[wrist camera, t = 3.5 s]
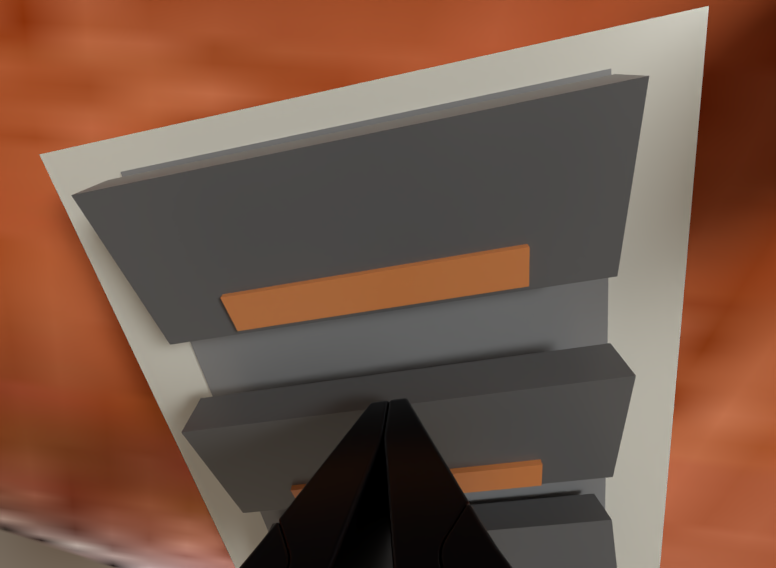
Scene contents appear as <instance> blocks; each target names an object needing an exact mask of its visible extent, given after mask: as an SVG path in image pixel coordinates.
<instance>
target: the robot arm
mask: <svg viewBox="0 0 776 568" xmlns="http://www.w3.org/2000/svg"><path fill="white" fill-rule="evenodd" d="M239 568H512V566H511V565H510V564H509V562H508V561H507V560H506V558H505V557H504V555H503V554H502V553H501V551H500V550H499V549H498V547H497V546H496V544H495V542H494V541H493V539H492V538H491V536H490V535H489V533H488V532H487V530H486V529H485V527H484V525H483V524H482V522H481V521H480V519H479V517H478V516H477V514H476V512H475V511H474V509H473V507H472V506H471V505H470V504H469V501H468V499H467V498H466V496H465V494H464V493H463V491H462V489H461V488H460V486H459V484H458V483H457V481H456V479H455V478H454V476H453V474H452V473H451V471H450V469H449V468H448V466H447V464H446V463H445V461H444V459H443V458H442V456H441V454H440V452H439V451H438V449H437V447H436V446H435V444H434V442H433V441H432V439H431V437H430V436H429V434H428V432H427V431H426V429H425V427H424V426H423V424H422V422H421V421H420V419H419V417H418V416H417V414H416V412H415V411H414V409H413V407H412V406H411V404H410V402H409V401H408V399H407V398H401V399H393V400H391V401H390V402H388V401H387V400H385V401H377V402H372V403H370V404H369V406H368V407H367V408H366V409H365V411H364V412H363V413H362V414H361V416H360V417H359V418H358V419H357V421H356V422H355V423H354V425H353V426H352V427H351V428H350V430H349V431H348V432H347V433H346V435H345V436H344V437H343V438H342V440H341V441H340V442H339V444H338V445H337V446H336V447H335V449H334V450H333V451H332V452H331V454H330V455H329V456H328V457H327V459H326V460H325V461H324V463H323V464H322V465H321V466H320V468H319V469H318V470H317V471H316V473H315V474H314V475H313V476H312V478H311V479H310V480H309V482H308V483H307V484H306V485H305V487H304V488H303V489H302V490H301V492H300V493H299V494H298V495H297V497H296V498H295V499H294V500H293V502H292V503H291V504H290V506H289V507H288V508H287V509H286V511H285V512H284V513H283V514H282V516H281V517H280V518H279V523H278V522H277V523H275V524H274V526H273V527H272V528H271V529H270V531H269V532H268V533H267V534H266V536H265V537H264V538H263V539H262V541H261V542H260V543H259V544H258V546H257V547H256V548H255V549H254V550H253V552H252V553H251V554H250V555H249V556H248V558H247V559H246V560H245V561H244V563H243V564H242V565H241V566H240V567H239Z"/></svg>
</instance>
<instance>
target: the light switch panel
mask: <svg viewBox="0 0 776 568" xmlns="http://www.w3.org/2000/svg"><path fill="white" fill-rule="evenodd" d="M708 11H709V6H706V7H702V8H697V9H693V10H688V11H684V12H679V13H675V14H670V15H666V16H661V17H657V18H652V19H648V20H643V21H639V22H634V23H630V24H625V25H621V26H616V27H612V28H607V29H603V30H598V31H594V32H589V33H585V34H580V35H576V36H571V37H567V38H562V39H558V40H553V41H549V42H544V43H540V44H535V45H531V46H526V47H522V48H517V49H513V50H508V51H504V52H499V53H495V54H490V55H486V56H481V57H477V58H472V59H468V60H463V61H459V62H454V63H450V64H445V65H441V66H436V67H432V68H427V69H423V70H418V71H414V72H409V73H405V74H400V75H396V76H391V77H387V78H382V79H378V80H373V81H369V82H364V83H359V84H355V85H350V86H346V87H341V88H337V89H332V90H328V91H323V92H319V93H314V94H310V95H305V96H301V97H296V98H292V99H287V100H283V101H278V102H274V103H269V104H265V105H260V106H256V107H251V108H247V109H242V110H238V111H233V112H229V113H224V114H220V115H215V116H211V117H206V118H202V119H197V120H193V121H188V122H184V123H179V124H175V125H170V126H166V127H161V128H157V129H152V130H148V131H143V132H139V133H134V134H130V135H125V136H121V137H116V138H112V139H107V140H103V141H98V142H94V143H89V144H85V145H80V146H76V147H71V148H67V149H62V150H58V151H53V152H49V153H44V154H40V157H41V159H42V161H43V163H44V165H45V167H46V169H47V171H48V173H49V176H50V178H51V180H52V182H53V184H54V186H55V188H56V190H57V192H58V195H59V197H60V199H61V201H62V203H63V205H64V207H65V209H66V211H67V213H68V216H69V218H70V220H71V222H72V224H73V226H74V228H75V230H76V232H77V235H78V237H79V239H80V241H81V243H82V245H83V247H84V249H85V251H86V254H87V256H88V258H89V260H90V262H91V264H92V266H93V268H94V270H95V272H96V275H97V277H98V279H99V281H100V283H101V285H102V287H103V289H104V291H105V294H106V296H107V298H108V300H109V302H110V304H111V306H112V308H113V310H114V313H115V315H116V317H117V319H118V321H119V323H120V325H121V327H122V329H123V331H124V334H125V336H126V338H127V340H128V342H129V344H130V346H131V348H132V350H133V353H134V355H135V357H136V359H137V361H138V363H139V365H140V367H141V369H142V372H143V374H144V376H145V378H146V380H147V382H148V384H149V386H150V388H151V390H152V393H153V395H154V397H155V399H156V401H157V403H158V405H159V407H160V409H161V412H162V414H163V416H164V418H165V420H166V422H167V424H168V426H169V428H170V430H171V433H172V435H173V437H174V439H175V441H176V443H177V445H178V447H179V449H180V452H181V454H182V456H183V458H184V460H185V462H186V464H187V466H188V468H189V471H190V473H191V475H192V477H193V479H194V481H195V483H196V485H197V487H198V489H199V492H200V494H201V496H202V498H203V500H204V502H205V504H206V506H207V508H208V511H209V513H210V515H211V517H212V519H213V521H214V523H215V525H216V527H217V530H218V532H219V534H220V536H221V538H222V540H223V542H224V544H225V546H226V548H227V551H228V553H229V555H230V557H231V559H232V561H233V563H234V565H235V567H236V568H239V567H240V566H241V565H242V564H243V563H244V561H245V560H246V559H247V558H248V556H249V555H250V554H251V553H252V552H253V550H254V549H255V548H256V547H257V546H258V544H259V543H260V542H261V541H262V539H263V538H264V537H265V536H266V534H267V533H268V532H269V530H270V528H271V526H272V524H273V523H277V522H278V523H279V518H280V517H281V516H282V514H283V513H284V512H285V511H286V509H280V510H269V511H259V512H249V513H243V512H242V511H241V510H240V508H239V507H238V506H237V504H236V503H235V502H234V501H233V499H232V498H231V497H230V495H229V494H228V493H227V491H226V490H225V489H224V488H223V486H222V485H221V484H220V482H219V481H218V480H217V478H216V477H215V476H214V475H213V473H212V472H211V471H210V469H209V468H208V467H207V465H206V464H205V463H204V461H203V460H202V459H201V458H200V456H199V455H198V454H197V452H196V451H195V450H194V448H193V447H192V446H191V445H190V443H189V442H188V441H187V439H186V438H185V437H184V435H183V434H182V433H181V432H182V430H183V428H184V427H185V425H186V423H187V421H188V419H189V418H190V416H191V414H192V412H193V411H194V409H195V407H196V405H197V404H198V402H199V400H200V398H206V397H213V396H221V395H228V394H236V393H243V392H251V391H258V390H265V389H273V388H280V387H288V386H295V385H303V384H310V383H317V382H325V381H332V380H340V379H347V378H355V377H362V376H369V375H377V374H384V373H392V372H399V371H407V370H414V369H421V368H429V367H436V366H444V365H451V364H459V363H466V362H473V361H481V360H488V359H496V358H503V357H511V356H518V355H525V354H533V353H540V352H548V351H555V350H563V349H570V348H577V347H585V346H592V345H600V344H607V343H611V344H612V346H613V347H614V348H615V350H616V351H617V352H618V353H619V355H620V356H621V357H622V358H623V360H624V361H625V362H626V364H627V365H628V366H629V367H630V369H631V370H632V371H633V373H634V374H635V375H636V378H635V382H634V387H633V391H632V395H631V400H630V404H629V409H628V413H627V417H626V422H625V426H624V430H623V435H622V439H621V444H620V448H619V452H618V457H617V461H616V466H615V470H614V474H613V477H608V478H598V479H588V480H577V481H567V482H557V483H546V484H542V486H532V487H521V488H511V489H501V490H490V491H480V492H470V493H464V494H465V496H466V498H467V499H468V501H469V504H470V505H476V504H487V503H497V502H508V501H519V500H529V499H540V498H551V497H562V496H572V495H583V494H595V496H596V497H597V499H598V500H599V502H600V503H601V505H602V506H603V507H604V509H605V510H606V512H607V513H608V515H609V516H610V518H611V519H612V525H613V535H614V544H615V554H616V563H617V568H660V559H661V548H662V536H663V525H664V513H665V502H666V491H667V479H668V468H669V456H670V445H671V433H672V422H673V411H674V399H675V388H676V376H677V365H678V353H679V342H680V331H681V319H682V308H683V296H684V285H685V273H686V262H687V251H688V239H689V228H690V216H691V205H692V193H693V182H694V171H695V159H696V148H697V136H698V125H699V113H700V102H701V91H702V79H703V68H704V56H705V45H706V33H707V22H708ZM613 74H624V75H644V76H649V81H648V88H647V94H646V100H645V106H644V113H643V119H642V125H641V131H640V138H639V144H638V150H637V157H636V163H635V169H634V175H633V182H632V188H631V194H630V201H629V207H628V213H627V219H626V226H625V232H624V238H623V245H622V251H621V257H620V263H619V270H618V276H616V277H610V278H603V279H597V280H590V281H584V282H577V283H571V284H564V285H557V286H551V287H544V288H538V289H531V290H525V291H518V292H512V293H505V294H499V295H492V296H486V297H479V298H472V299H466V300H459V301H453V302H446V303H440V304H433V305H427V306H420V307H414V308H407V309H400V310H394V311H387V312H381V313H374V314H368V315H361V316H355V317H348V318H342V319H335V320H328V321H322V322H315V323H309V324H302V325H296V326H289V327H283V328H276V329H270V330H263V331H256V332H250V333H243V334H237V335H230V336H224V337H217V338H211V339H204V340H198V341H191V342H185V343H178V344H171V345H170V344H169V342H168V341H167V339H166V338H165V336H164V335H163V333H162V332H161V330H160V329H159V327H158V326H157V324H156V323H155V321H154V320H153V318H152V317H151V315H150V314H149V312H148V310H147V309H146V307H145V306H144V304H143V303H142V301H141V300H140V298H139V297H138V295H137V294H136V292H135V291H134V289H133V288H132V286H131V285H130V283H129V282H128V280H127V279H126V277H125V276H124V274H123V273H122V271H121V270H120V268H119V267H118V265H117V264H116V262H115V261H114V259H113V258H112V256H111V255H110V253H109V252H108V250H107V249H106V247H105V246H104V244H103V243H102V241H101V240H100V238H99V236H98V235H97V233H96V232H95V230H94V229H93V227H92V226H91V224H90V223H89V221H88V220H87V218H86V217H85V215H84V214H83V212H82V211H81V209H80V208H79V206H78V205H77V203H76V202H75V200H74V199H73V197H72V196H71V195H73V194H75V193H78V192H80V191H83V190H85V189H87V188H90V187H92V186H95V185H97V184H99V183H102V182H104V181H107V180H110V179H115V178H120V177H125V176H129V175H134V174H139V173H144V172H149V171H153V170H158V169H163V168H168V167H173V166H177V165H182V164H187V163H192V162H196V161H201V160H206V159H211V158H216V157H220V156H225V155H230V154H235V153H240V152H244V151H249V150H254V149H259V148H263V147H268V146H273V145H278V144H283V143H287V142H292V141H297V140H302V139H307V138H311V137H316V136H321V135H326V134H330V133H335V132H340V131H345V130H350V129H354V128H359V127H364V126H369V125H374V124H378V123H383V122H388V121H393V120H397V119H402V118H407V117H412V116H417V115H421V114H426V113H431V112H436V111H441V110H445V109H450V108H455V107H460V106H464V105H469V104H474V103H479V102H484V101H488V100H493V99H498V98H503V97H507V96H512V95H517V94H522V93H527V92H531V91H536V90H541V89H546V88H551V87H555V86H560V85H565V84H570V83H574V82H579V81H584V80H589V79H594V78H598V77H603V76H608V75H613Z"/></svg>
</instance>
